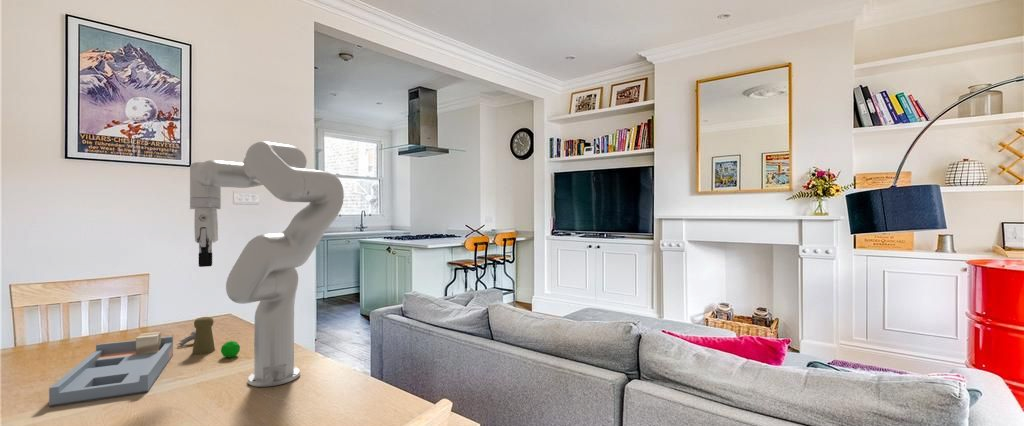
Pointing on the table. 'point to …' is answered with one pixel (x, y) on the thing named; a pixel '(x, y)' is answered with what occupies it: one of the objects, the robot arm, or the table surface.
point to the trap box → (111, 373)
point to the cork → (203, 336)
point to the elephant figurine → (187, 339)
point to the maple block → (148, 343)
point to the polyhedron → (230, 349)
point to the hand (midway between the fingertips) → (205, 266)
